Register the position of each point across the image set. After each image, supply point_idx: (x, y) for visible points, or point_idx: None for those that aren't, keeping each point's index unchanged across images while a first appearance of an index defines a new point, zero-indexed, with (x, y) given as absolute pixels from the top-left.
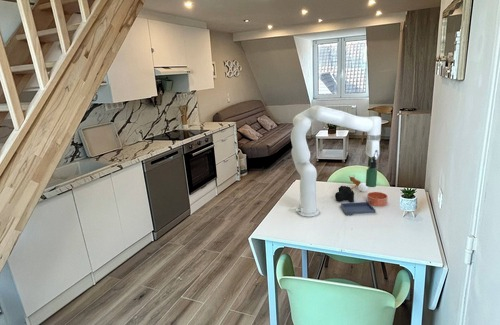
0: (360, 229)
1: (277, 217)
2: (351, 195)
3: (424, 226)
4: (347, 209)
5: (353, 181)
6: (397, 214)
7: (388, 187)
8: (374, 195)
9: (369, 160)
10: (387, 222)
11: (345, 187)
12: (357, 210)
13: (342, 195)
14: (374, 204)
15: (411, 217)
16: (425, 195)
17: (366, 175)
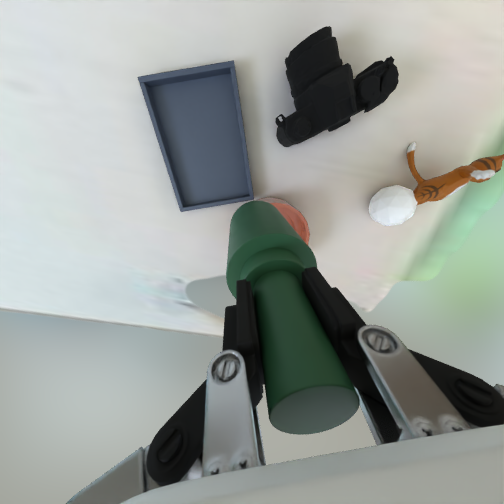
0: (30, 126)
1: None
2: (277, 125)
3: (127, 309)
4: (199, 98)
5: (453, 170)
6: (189, 269)
7: (387, 285)
8: (301, 232)
9: (338, 331)
10: (124, 232)
11: (341, 87)
12: (194, 144)
13: (296, 73)
14: None
15: (175, 295)
16: None
17: (263, 217)
